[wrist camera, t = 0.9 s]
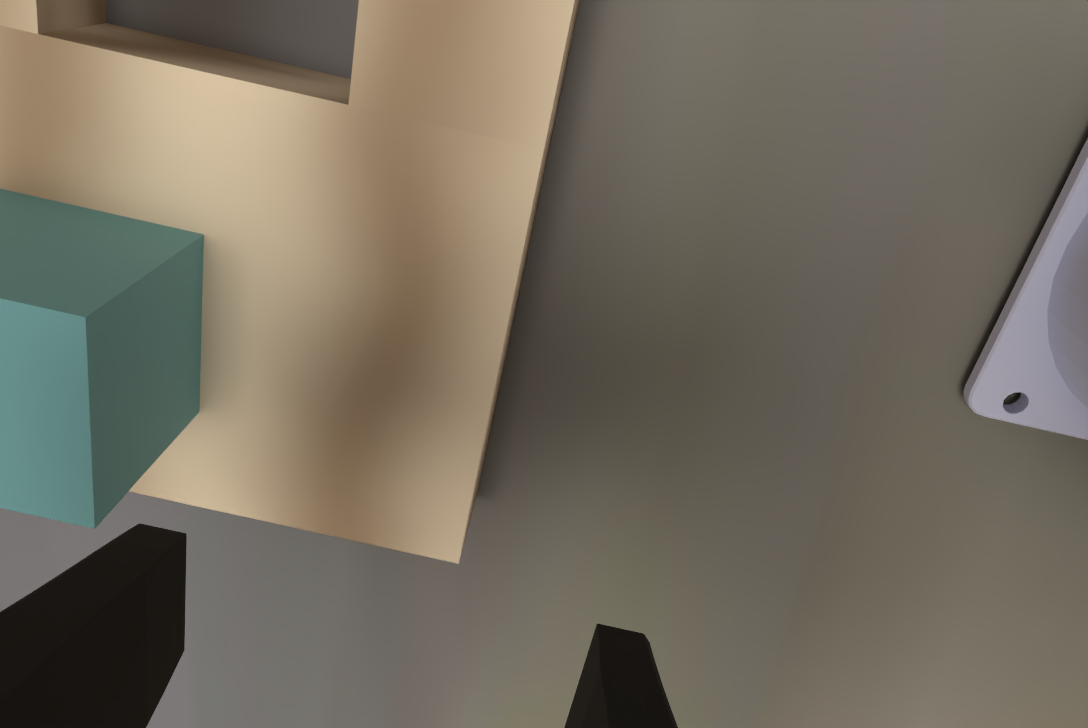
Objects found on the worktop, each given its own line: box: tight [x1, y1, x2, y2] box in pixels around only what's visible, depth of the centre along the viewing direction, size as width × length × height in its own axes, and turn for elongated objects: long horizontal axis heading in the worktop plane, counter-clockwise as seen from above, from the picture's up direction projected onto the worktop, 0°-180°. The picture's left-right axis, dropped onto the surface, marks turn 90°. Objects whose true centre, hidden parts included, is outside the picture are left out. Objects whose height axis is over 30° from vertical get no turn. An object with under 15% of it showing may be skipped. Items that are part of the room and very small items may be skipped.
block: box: [0, 189, 204, 529], centre depth 15 cm, size 4×4×4 cm
